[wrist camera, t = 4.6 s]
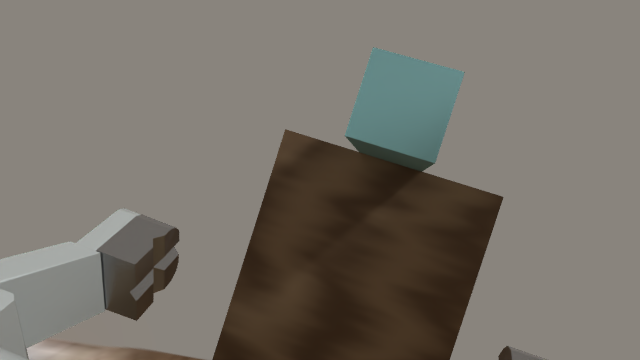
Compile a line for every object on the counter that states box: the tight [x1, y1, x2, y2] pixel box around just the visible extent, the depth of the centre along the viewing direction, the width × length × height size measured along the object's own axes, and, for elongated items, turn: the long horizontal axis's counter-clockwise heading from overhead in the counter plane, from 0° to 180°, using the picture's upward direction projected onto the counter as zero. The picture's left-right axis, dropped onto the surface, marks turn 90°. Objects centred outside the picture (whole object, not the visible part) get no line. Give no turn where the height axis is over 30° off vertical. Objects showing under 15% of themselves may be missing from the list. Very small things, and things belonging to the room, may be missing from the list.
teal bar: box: [345, 47, 464, 172], centre depth 32 cm, size 24×4×4 cm, turn 170°
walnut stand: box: [213, 130, 503, 360], centre depth 34 cm, size 14×10×26 cm
